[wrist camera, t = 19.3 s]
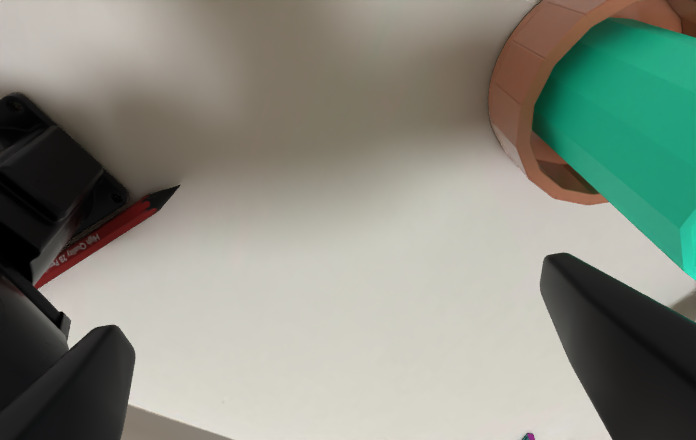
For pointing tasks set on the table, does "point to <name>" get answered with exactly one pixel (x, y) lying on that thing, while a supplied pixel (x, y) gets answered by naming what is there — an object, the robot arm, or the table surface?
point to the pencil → (106, 233)
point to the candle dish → (535, 68)
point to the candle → (630, 126)
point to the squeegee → (529, 437)
